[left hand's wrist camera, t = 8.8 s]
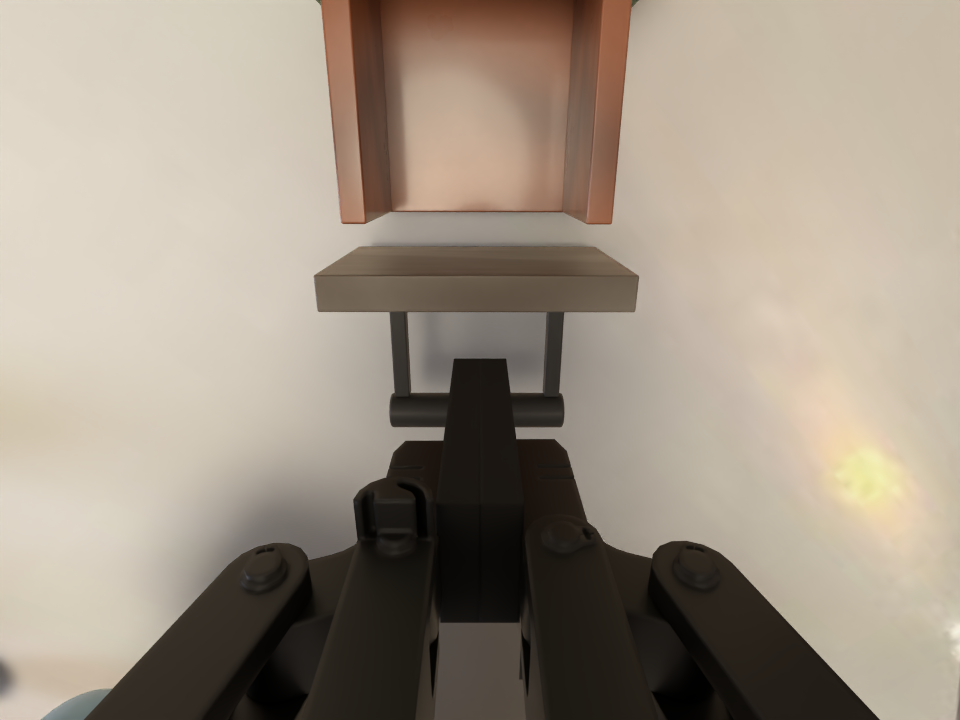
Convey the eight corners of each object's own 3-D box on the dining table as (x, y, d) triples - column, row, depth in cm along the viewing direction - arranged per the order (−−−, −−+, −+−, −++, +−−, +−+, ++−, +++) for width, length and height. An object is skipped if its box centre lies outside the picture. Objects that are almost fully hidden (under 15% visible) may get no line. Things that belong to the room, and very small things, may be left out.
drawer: (583, 394, 24) (618, 467, 18) (370, 394, 24) (335, 467, 18) (643, -356, 16) (747, -685, 10) (309, -357, 16) (203, -688, 10)
